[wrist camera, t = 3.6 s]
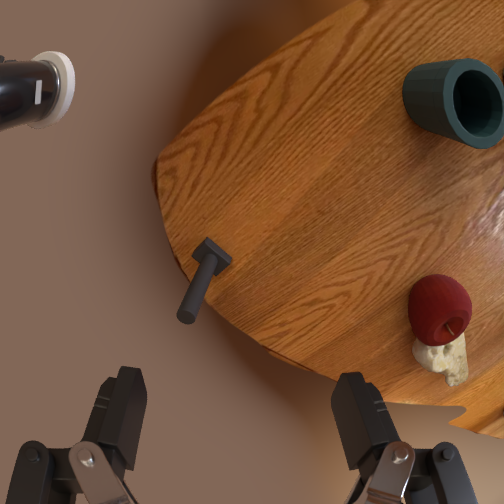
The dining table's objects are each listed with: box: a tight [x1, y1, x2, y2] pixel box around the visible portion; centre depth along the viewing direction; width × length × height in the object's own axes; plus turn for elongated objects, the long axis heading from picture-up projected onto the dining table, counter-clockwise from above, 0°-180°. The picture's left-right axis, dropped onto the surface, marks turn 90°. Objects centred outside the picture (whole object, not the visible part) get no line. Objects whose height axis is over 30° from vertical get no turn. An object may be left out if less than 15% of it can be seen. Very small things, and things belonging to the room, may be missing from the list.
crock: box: [402, 58, 504, 149], centre depth 22 cm, size 9×9×10 cm
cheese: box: [412, 332, 468, 387], centre depth 41 cm, size 15×7×15 cm
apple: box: [408, 274, 472, 347], centre depth 34 cm, size 10×10×10 cm
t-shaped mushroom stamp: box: [177, 237, 232, 324], centre depth 34 cm, size 4×3×13 cm
